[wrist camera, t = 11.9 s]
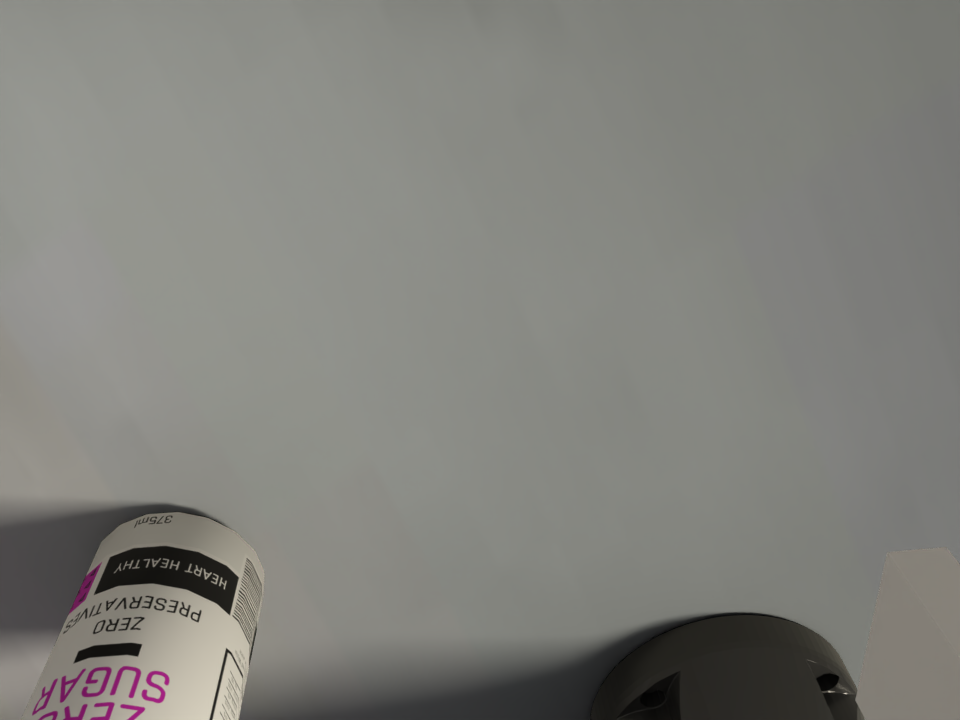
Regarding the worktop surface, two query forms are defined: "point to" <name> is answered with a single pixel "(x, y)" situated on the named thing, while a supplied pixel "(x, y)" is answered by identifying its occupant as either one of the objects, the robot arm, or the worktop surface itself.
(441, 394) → the worktop surface
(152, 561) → the supplement can
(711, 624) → the robot arm
